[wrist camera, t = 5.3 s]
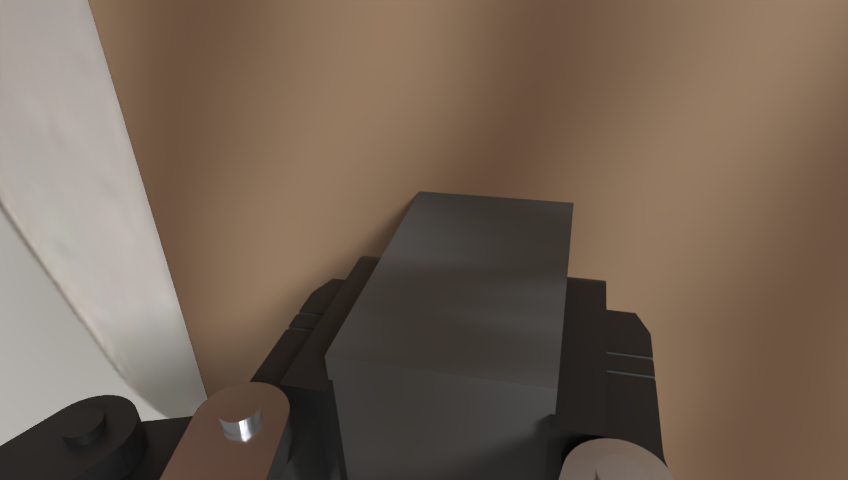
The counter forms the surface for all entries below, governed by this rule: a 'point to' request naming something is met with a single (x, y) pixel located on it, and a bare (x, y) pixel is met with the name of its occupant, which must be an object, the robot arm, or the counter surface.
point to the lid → (509, 211)
